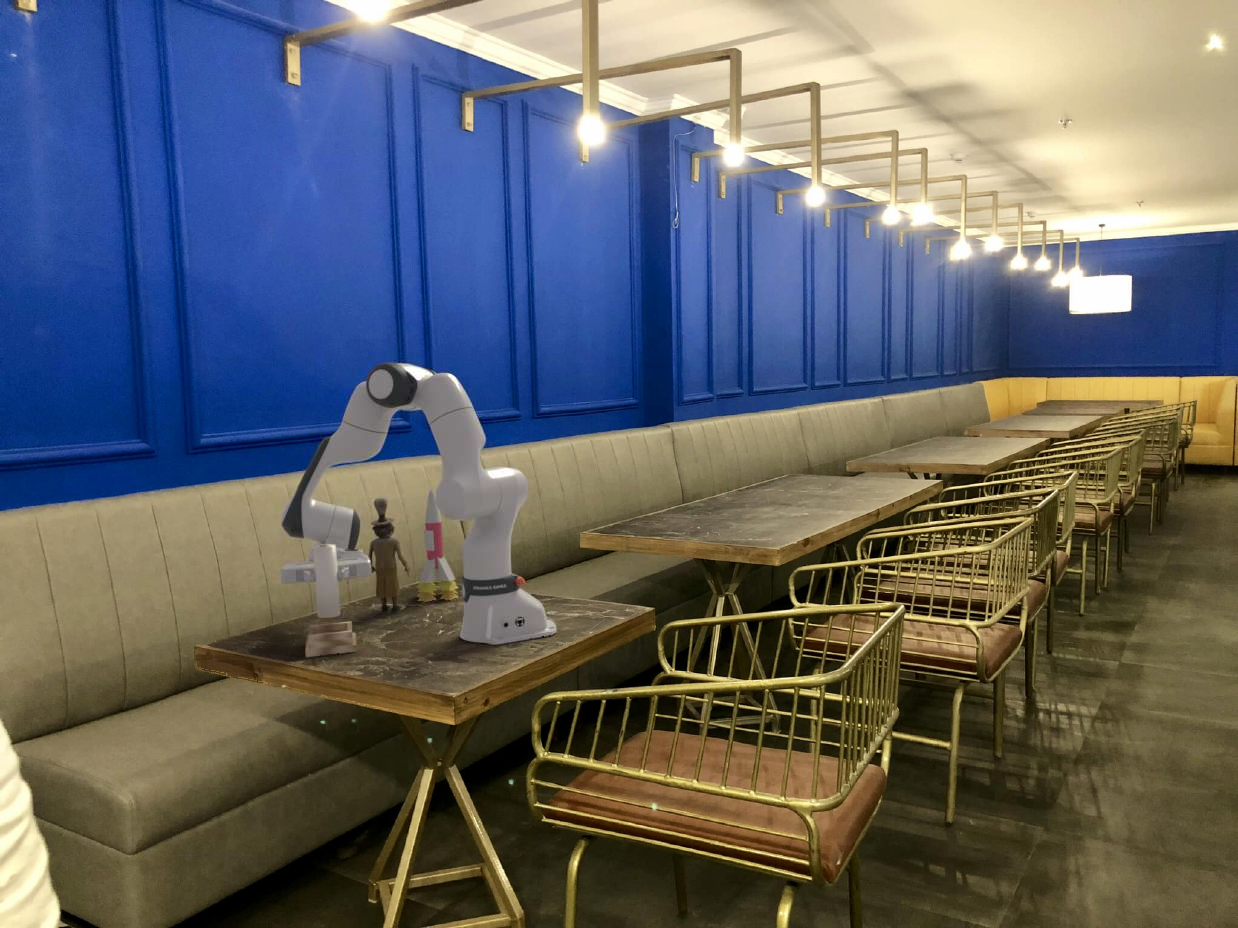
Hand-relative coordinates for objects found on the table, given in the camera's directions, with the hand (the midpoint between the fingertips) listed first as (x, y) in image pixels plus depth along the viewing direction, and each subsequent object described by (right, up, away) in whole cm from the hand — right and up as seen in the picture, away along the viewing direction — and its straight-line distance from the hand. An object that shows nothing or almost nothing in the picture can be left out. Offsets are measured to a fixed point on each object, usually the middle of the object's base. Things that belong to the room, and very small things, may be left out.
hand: (326, 577), depth 224 cm
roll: (0, -9, +2) cm, 9 cm away
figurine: (+7, -13, +35) cm, 38 cm away
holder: (0, -17, +3) cm, 17 cm away
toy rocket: (+16, -11, +48) cm, 52 cm away
